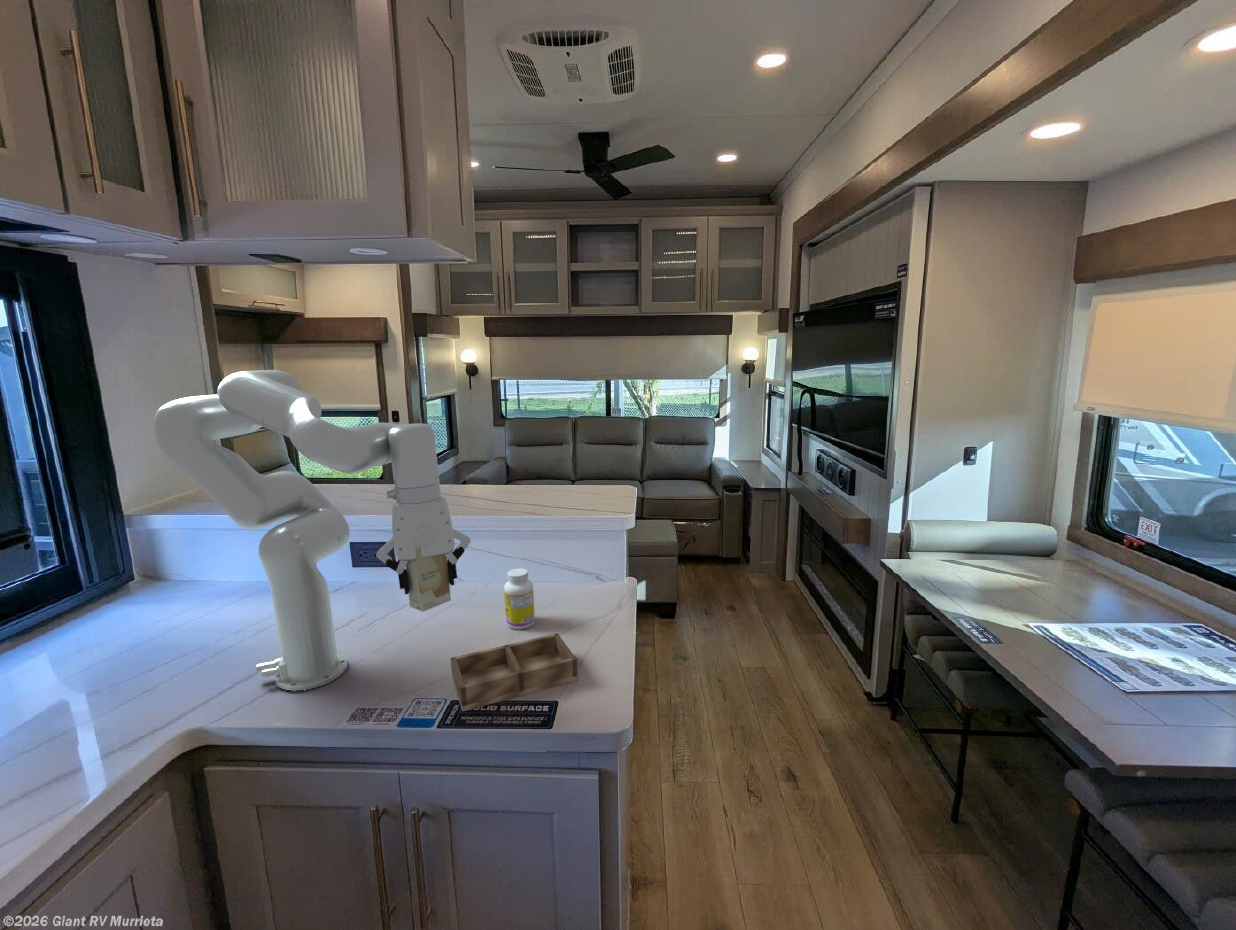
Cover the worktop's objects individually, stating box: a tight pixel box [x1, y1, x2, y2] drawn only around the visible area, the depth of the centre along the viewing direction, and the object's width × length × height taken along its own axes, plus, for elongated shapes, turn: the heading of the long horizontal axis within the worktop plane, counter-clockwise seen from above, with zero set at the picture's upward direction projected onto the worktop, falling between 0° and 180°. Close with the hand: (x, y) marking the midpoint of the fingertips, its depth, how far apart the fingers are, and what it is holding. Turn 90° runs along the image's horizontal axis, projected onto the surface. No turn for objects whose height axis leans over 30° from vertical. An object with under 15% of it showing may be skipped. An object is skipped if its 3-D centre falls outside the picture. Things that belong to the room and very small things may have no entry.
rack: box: [450, 633, 578, 712], centre depth 109 cm, size 22×11×4 cm, turn 114°
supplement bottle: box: [503, 568, 536, 630], centre depth 131 cm, size 7×7×13 cm
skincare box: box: [405, 547, 452, 613], centre depth 104 cm, size 6×4×12 cm
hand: (429, 586), depth 104 cm, fingers closed on skincare box, 7 cm apart
